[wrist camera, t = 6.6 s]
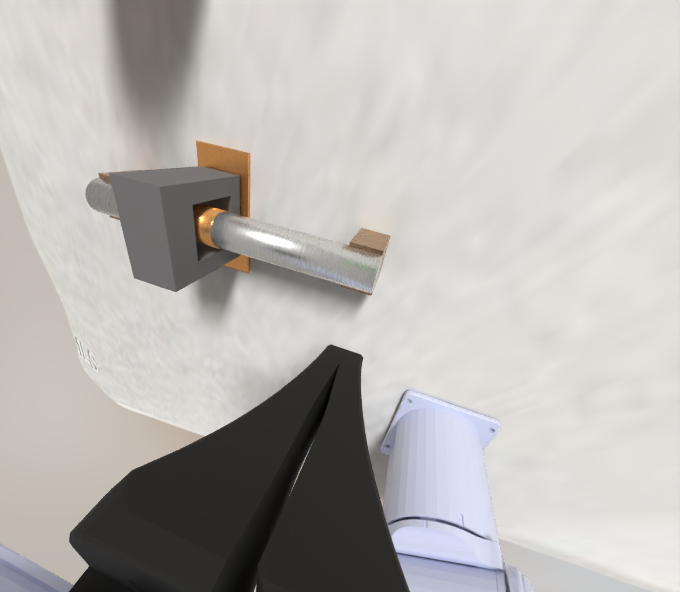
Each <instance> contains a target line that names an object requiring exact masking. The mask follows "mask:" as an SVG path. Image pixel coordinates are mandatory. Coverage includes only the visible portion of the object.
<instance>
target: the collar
mask: <svg viewBox="0 0 680 592" xmlns="http://www.w3.org/2000/svg"><path fill="white" fill-rule="evenodd" d="M109 176H110V180H111V184H112V188H113V192H114V197H115V201H116V205H117V209H118V213H119V217H120V221H121V226H122V230H123V234H124V238H125V242H126V246H127V250H128V255H129V259H130V263H131V267H132V271H133V275H134V278H135V279H138V280H141V281H144V282H147V283H150V284H153V285H156V286H159V287H162V288H165V289H168V290H171V291H174V292H177V291H179V290H181V289H182V288H184V287H186V286H188V285H189V284H191V283H193V282H195V281H196V280H198V279H200V278H202V277H203V276H205V275H207V274H209V273H211V272H212V271H214V270H216V269H218V268H219V267H221V266H223V265H225V264H226V263H228V262H230V261H232V260H234V259H235V258H237V257H239V256H241V254H237V253H234V252H231V251H227V250H224V249H221V248H220V249H218V248H215V247H211V246H208V245H205V244H201V243H198V242H196V236H195V226H194V216H193V206H192V205H194V204H198V203H200V204H203V205H207V206H211V207H214V208H218V209H221V210H225V211H228V212H229V213H233V214H237V215H240V176H239V175H235V174H231V173H227V172H223V171H219V170H215V169H211V168H207V167H203V166H198V167H185V168H172V169H158V170H145V171H132V172H118V173H109Z"/></svg>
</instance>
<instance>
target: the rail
mask: <svg viewBox="0 0 680 592" xmlns="http://www.w3.org/2000/svg"><path fill="white" fill-rule="evenodd" d="M196 145H197V157H198V166H203V167H207V168H211V169H215V170H219V171H223V172H227V173H231V174H235V175H239V176H240V215H237V214H233V213H229V212H228V211H225V210H221V209H218V208H214V207H211V206H207V205H203V204H200V203H198V204H194V205H192V206H193V216H194V226H195V236H196V242H198V243H201V244H205V245H208V246H211V247H215V248H218V249H220V248H221V249H224V250H227V251H231V252H234V253H237V254H241V256H239V257H237V258H235V259H234V260H232V261H230V262H228V263H226V264H225V265H224V266H227V267H230V268H233V269H237V270H240V271H243V272H246V273H249V257H251V258H254V259H258V260H261V261H264V262H268V263H271V264H274V265H278V266H281V267H284V268H288V269H291V270H294V271H298V272H301V273H304V274H308V275H311V276H314V277H318V278H321V279H324V280H328V281H331V282H334V283H338V284H341V287H345V288H348V289H351V290H355V291H358V292H361V293H365V294H368V295H372V292H373V290H374V287H375V285H376V282H377V279H378V277H379V274H380V270H381V267H382V263H383V260H384V256H385V253H386V249H387V246H388V242H389V239H390V236H389V235H385V234H381V233H377V232H374V231H370V230H366V229H361V230H360V231H359V232H358V233H357V234H356V236H355V237H354V238H353V239H352V240H351V242H350V245H346V244H342V243H339V242H335V241H331V240H328V239H324V238H320V237H317V236H313V235H309V234H306V233H302V232H299V231H295V230H291V229H288V228H284V227H280V226H277V225H273V224H269V223H266V222H262V221H258V220H255V219H251V218H250V153H247V152H243V151H239V150H235V149H230V148H226V147H222V146H218V145H213V144H209V143H205V142H200V141H196ZM137 171H142V170H137ZM123 172H132V171H123ZM109 173H118V172H109ZM109 173H99V177H100V178H97V179H94V180H92V181H91V182H90V183H89V184H88V186H87V188H86V199H87V201H88V203H89V205H90V206H91V207H92V208H93V209H94V210H96V211H98V212H100V213H104V214H107V215H109V216H110V217H112V218H115V219H118V220H120V217H119V213H118V209H117V205H116V201H115V197H114V192H113V188H112V184H111V180H110V176H109Z"/></svg>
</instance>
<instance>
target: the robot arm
mask: <svg viewBox="0 0 680 592" xmlns="http://www.w3.org/2000/svg"><path fill="white" fill-rule="evenodd" d="M362 361H363V357H362V355H361V354H358V353H355V352H352V351H349V350H346V349H343V348H340V347H337V346H334V345H329V346H327V348H326V349H325V350H324V351H323V352H322V353H321V354H320V355H319V356H318V357H317V358H316V359H315V360H314V361H313V362H312V363H311V364H310V365H309V366H308V367H307V368H306V369H305V370H304V371H303V372H301V373H300V374H299V375H298V376H297V377H296V378H295V379H293V380H292V381H291V382H290V383H288V384H287V385H286V386H284V387H283V388H282V389H281V390H279V391H278V392H277V393H276V394H274V395H273V396H271V397H270V398H269V399H267V400H266V401H264V402H263V403H261V404H260V405H258V406H257V407H255V408H254V409H252V410H251V411H249V412H248V413H246V414H244V415H243V416H241V417H239V418H238V419H236V420H234V421H233V422H231V423H229V424H228V425H226V426H224V427H222V428H220V429H219V430H217V431H215V432H213V433H211V434H209V435H207V436H205V437H203V438H201V439H199V440H197V441H195V442H193V443H192V444H190V445H188V446H185V447H183V448H181V449H179V450H177V451H175V452H173V453H170V454H168V455H166V456H163V457H161V458H159V459H157V460H154V461H152V462H150V463H147V464H145V465H143V466H141V467H138V468H136V469H134V470H132V471H131V472H130V473H129V474H128V475H126V476H125V477H124V478H123V479H122V480H121V481H120V482H119V483H118V484H117V485H115V486H114V487H113V488H112V489H111V490H110V491H109V492H108V493H107V494H106V495H105V496H104V497H103V498H102V499H101V500H100V501H99V502H98V504H97V505H96V506H95V507H94V508H93V509H92V510H91V511H90V512H89V513H88V514H87V515H86V516H85V517H84V519H83V520H82V521H81V522H80V523H79V524H78V525H77V526H76V527H75V528H74V529H73V530H72V531H71V533H70V538H69V542H70V544H71V545H72V546H73V548H74V549H75V550H76V551H77V552H78V553H79V555H80V556H81V557H82V558H83V559H84V560H85V561H86V563H88V565H89V567H88V569H87V570H86V571H85V572H84V573H83V575H82V576H81V577H80V578H79V580H78V581H77V582H76V583H75V585H73V584H71V583H69V582H67V581H66V580H64V579H62V578H60V577H59V576H57V575H55V574H53V573H52V572H50V571H48V570H46V569H44V568H43V567H41V566H39V565H37V564H36V563H33V562H32V561H30V560H28V559H27V558H25V557H23V556H21V555H20V554H18V553H16V552H14V551H13V550H11V549H9V548H7V547H5V546H4V545H2V544H0V592H254V589H255V586H256V584H257V587H256V592H534V591H533V587H532V584H531V583H530V582H529V580H528V579H527V578H526V577H525V576H524V575H521V572H520V569H519V568H518V567H516V566H510V565H507V569H506V566H505V563H504V559H503V556H502V552H501V549H500V544H499V538H498V533H497V527H496V522H495V516H494V511H493V505H492V499H491V494H490V488H489V483H488V477H487V472H486V466H485V461H484V455H483V450H484V449H485V447H486V446H487V445H488V444H489V442H490V441H491V440H492V439H493V437H494V436H495V435H496V434H497V432H498V431H499V430H500V429H501V425H500V422H499V421H498V420H495V419H492V418H490V417H487V416H484V415H481V414H478V413H475V412H472V411H469V410H467V409H464V408H461V407H458V406H455V405H452V404H449V403H446V402H443V401H441V400H438V399H435V398H432V397H429V396H426V395H423V394H420V393H418V392H415V391H411V390H409V391H406V392H405V394H404V397H403V399H402V401H401V403H400V406H399V408H398V410H397V412H396V414H395V417H394V419H393V421H392V423H391V425H390V428H389V430H388V432H387V434H386V436H385V439H384V441H383V443H382V445H381V449H380V451H381V452H382V453H383V454H385V455H387V456H389V463H388V470H387V478H386V486H385V494H384V502H383V508H382V504H381V501H380V497H379V493H378V490H377V486H376V482H375V478H374V474H373V470H372V465H371V461H370V456H369V451H368V446H367V440H366V434H365V427H364V420H363V411H362V399H361V367H362ZM408 399H410V400H408ZM490 428H492V429H490ZM314 438H315V439H314ZM313 440H314V441H313ZM312 442H313V443H312ZM311 445H312V446H311ZM310 447H311V448H310ZM309 449H310V450H309ZM308 451H309V453H308ZM307 453H308V455H307ZM306 455H307V457H306ZM305 457H306V460H305V462H304V464H303V467H302V469H301V471H300V474H299V476H298V478H297V480H296V483H295V485H294V482H295V479H296V477H297V475H298V472H299V470H300V468H301V465H302V463H303V461H304V459H305ZM293 485H294V487H293ZM292 487H293V489H292ZM291 490H292V491H291ZM290 493H291V494H290ZM289 495H290V496H289Z"/></svg>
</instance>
